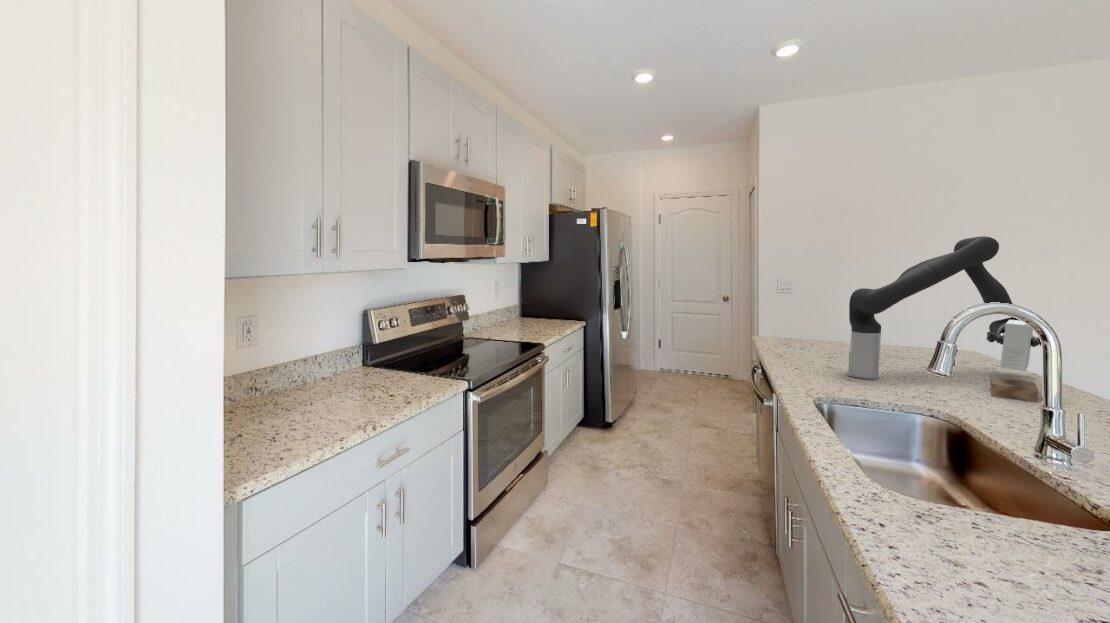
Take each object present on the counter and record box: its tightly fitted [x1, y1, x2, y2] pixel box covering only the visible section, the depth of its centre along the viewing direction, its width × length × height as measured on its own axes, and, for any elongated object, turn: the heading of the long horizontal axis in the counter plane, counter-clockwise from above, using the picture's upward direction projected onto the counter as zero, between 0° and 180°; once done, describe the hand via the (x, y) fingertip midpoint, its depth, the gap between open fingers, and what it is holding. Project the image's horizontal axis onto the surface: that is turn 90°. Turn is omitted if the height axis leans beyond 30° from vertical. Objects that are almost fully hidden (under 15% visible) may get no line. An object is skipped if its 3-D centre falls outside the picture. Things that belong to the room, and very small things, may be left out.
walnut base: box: [989, 377, 1039, 403], centre depth 146 cm, size 10×10×4 cm
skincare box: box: [999, 320, 1034, 372], centre depth 144 cm, size 8×6×15 cm
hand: (1018, 342), depth 142 cm, fingers closed on skincare box, 6 cm apart
